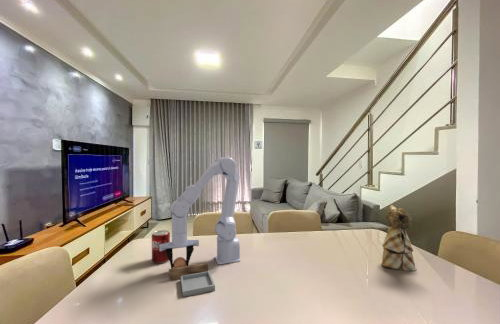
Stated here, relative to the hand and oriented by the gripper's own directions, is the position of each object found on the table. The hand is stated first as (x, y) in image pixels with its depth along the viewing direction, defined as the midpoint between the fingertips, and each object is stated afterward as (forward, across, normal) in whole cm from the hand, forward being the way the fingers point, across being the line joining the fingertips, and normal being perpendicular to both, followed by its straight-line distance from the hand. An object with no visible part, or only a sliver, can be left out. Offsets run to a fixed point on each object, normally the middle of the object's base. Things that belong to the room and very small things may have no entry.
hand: (179, 266), depth 87 cm
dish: (+2, -5, +13) cm, 14 cm away
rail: (+2, -3, +6) cm, 6 cm away
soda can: (+2, +7, -12) cm, 14 cm away
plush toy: (+2, -84, +27) cm, 88 cm away
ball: (+2, 0, 0) cm, 2 cm away
